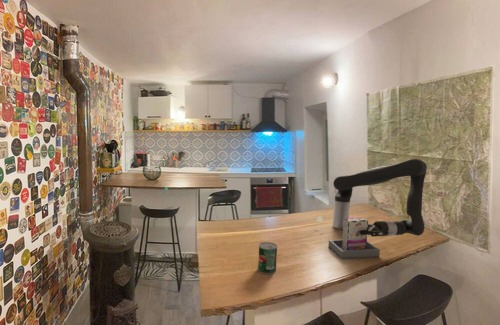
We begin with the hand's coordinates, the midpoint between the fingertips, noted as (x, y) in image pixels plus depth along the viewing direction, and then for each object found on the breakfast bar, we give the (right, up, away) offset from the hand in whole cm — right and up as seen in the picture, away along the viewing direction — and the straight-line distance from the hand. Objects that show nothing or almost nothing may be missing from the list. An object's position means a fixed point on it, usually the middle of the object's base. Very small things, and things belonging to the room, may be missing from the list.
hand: (355, 229), depth 150 cm
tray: (-1, -12, +1) cm, 12 cm away
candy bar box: (-1, -11, +1) cm, 11 cm away
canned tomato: (-46, -13, -20) cm, 52 cm away
